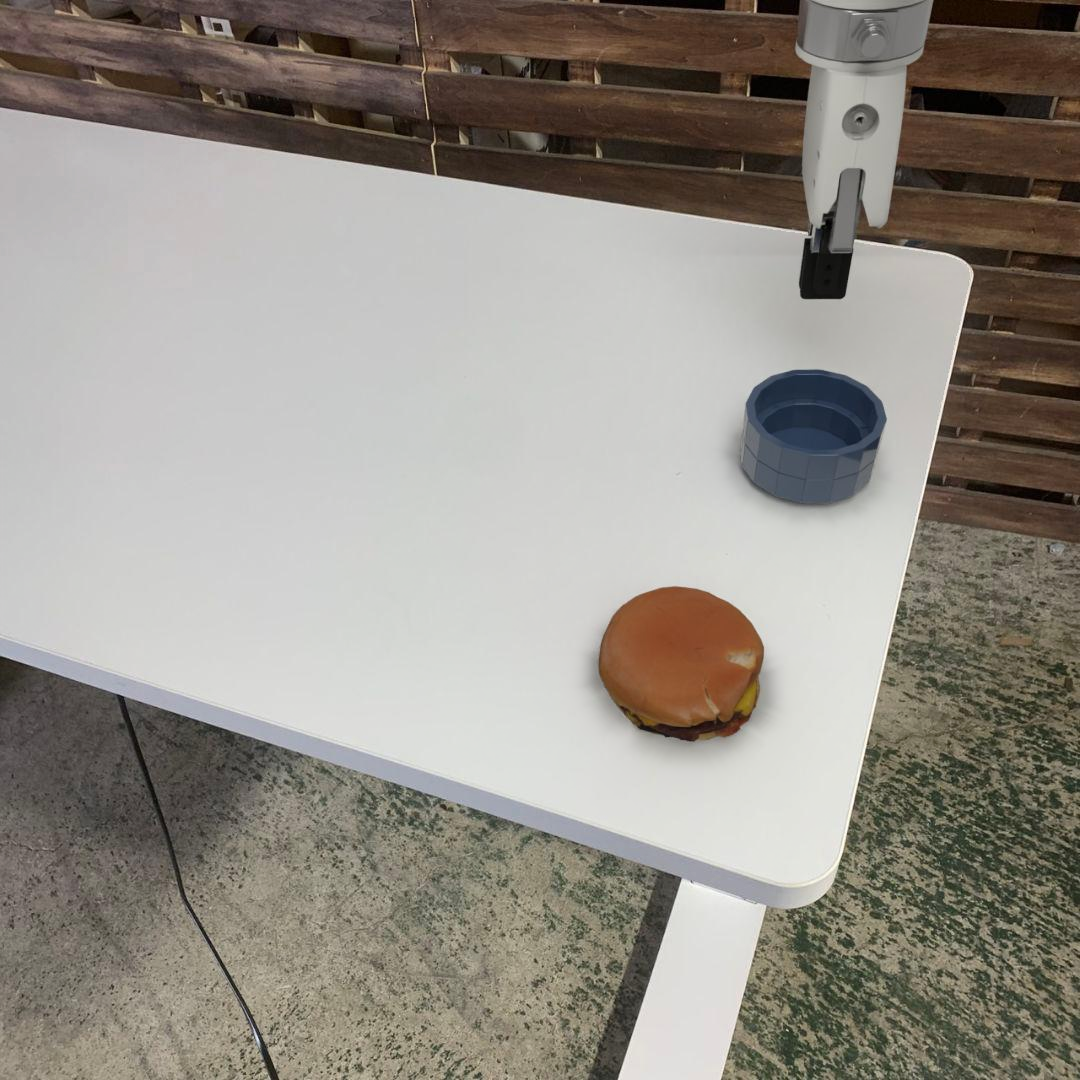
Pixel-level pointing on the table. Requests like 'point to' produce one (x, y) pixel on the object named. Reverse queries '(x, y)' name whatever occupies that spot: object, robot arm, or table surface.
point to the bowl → (811, 435)
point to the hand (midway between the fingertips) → (821, 292)
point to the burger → (682, 663)
